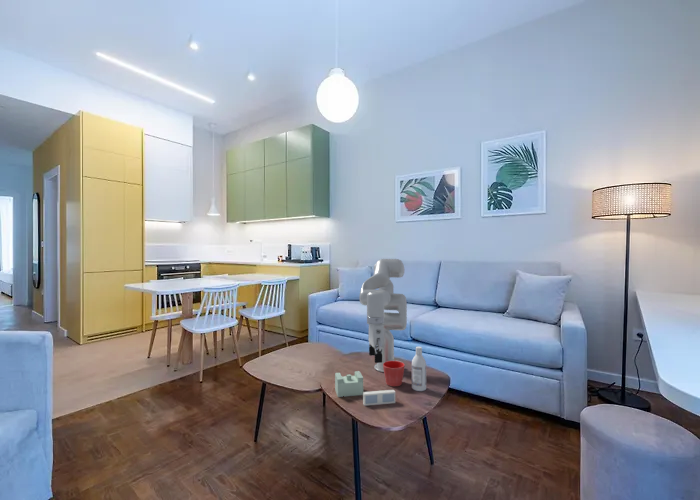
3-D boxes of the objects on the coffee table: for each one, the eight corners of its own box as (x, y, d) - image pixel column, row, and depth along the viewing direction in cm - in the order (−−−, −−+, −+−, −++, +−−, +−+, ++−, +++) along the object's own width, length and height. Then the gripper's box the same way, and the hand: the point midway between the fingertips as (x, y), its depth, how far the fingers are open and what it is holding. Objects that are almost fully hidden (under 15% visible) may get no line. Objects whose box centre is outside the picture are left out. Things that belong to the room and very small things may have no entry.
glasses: (393, 400, 141) (393, 389, 141) (395, 403, 138) (395, 392, 138) (362, 403, 139) (362, 391, 139) (364, 406, 136) (364, 394, 136)
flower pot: (379, 381, 161) (379, 362, 161) (397, 377, 166) (397, 359, 166) (389, 389, 152) (389, 369, 152) (408, 385, 156) (408, 366, 156)
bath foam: (419, 384, 158) (419, 344, 158) (429, 389, 151) (429, 348, 151) (408, 387, 154) (408, 346, 154) (418, 392, 148) (418, 350, 148)
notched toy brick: (359, 387, 154) (359, 371, 154) (363, 394, 146) (363, 377, 146) (335, 389, 152) (335, 372, 152) (337, 397, 144) (337, 379, 144)
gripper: (389, 324, 132) (389, 365, 132) (378, 315, 149) (378, 352, 149) (372, 324, 130) (372, 366, 130) (362, 316, 148) (362, 353, 147)
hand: (375, 358), depth 139 cm, fingers open, 9 cm apart
